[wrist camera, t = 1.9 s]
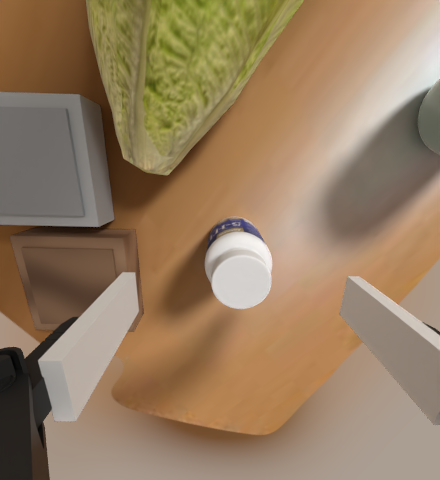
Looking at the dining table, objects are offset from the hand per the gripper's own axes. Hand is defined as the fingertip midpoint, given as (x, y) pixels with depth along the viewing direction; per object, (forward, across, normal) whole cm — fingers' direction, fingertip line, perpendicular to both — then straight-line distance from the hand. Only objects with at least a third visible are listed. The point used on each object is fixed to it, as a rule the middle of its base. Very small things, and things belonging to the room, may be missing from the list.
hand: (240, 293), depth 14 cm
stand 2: (+10, -15, -4) cm, 18 cm away
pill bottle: (+10, 0, 0) cm, 10 cm away
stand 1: (+10, -17, +8) cm, 21 cm away
